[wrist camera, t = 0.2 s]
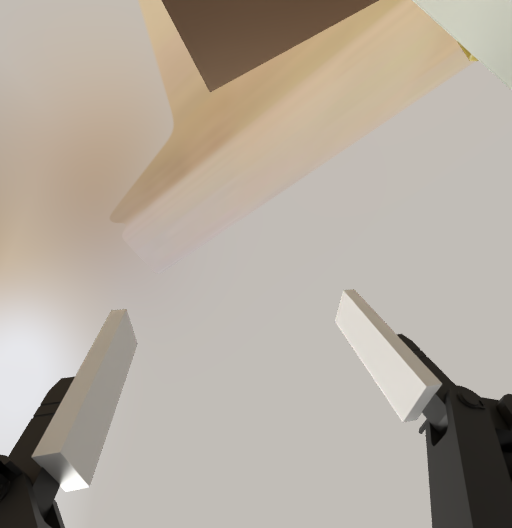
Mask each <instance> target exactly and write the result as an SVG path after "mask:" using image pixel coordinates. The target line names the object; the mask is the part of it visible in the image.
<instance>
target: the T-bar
mask: <svg viewBox="0 0 512 528" xmlns="http://www.w3.org/2000/svg"><path fill="white" fill-rule="evenodd" d="M377 1H378V0H162V2H163V4H164V6H165V8H166V9H167V11H168V13H169V15H170V17H171V19H172V21H173V23H174V25H175V27H176V28H177V30H178V32H179V34H180V36H181V38H182V40H183V42H184V44H185V46H186V48H187V49H188V51H189V53H190V55H191V57H192V59H193V61H194V63H195V65H196V67H197V68H198V70H199V72H200V74H201V76H202V78H203V80H204V82H205V84H206V86H207V87H208V89H209V91H210V92H212V91H213V90H215V89H217V88H219V87H221V86H223V85H224V84H226V83H228V82H230V81H232V80H234V79H235V78H237V77H239V76H241V75H243V74H245V73H246V72H248V71H250V70H252V69H254V68H256V67H257V66H259V65H261V64H263V63H265V62H267V61H268V60H270V59H272V58H274V57H276V56H278V55H279V54H281V53H283V52H285V51H287V50H289V49H290V48H292V47H294V46H296V45H298V44H300V43H301V42H303V41H305V40H307V39H309V38H311V37H312V36H314V35H316V34H318V33H320V32H322V31H323V30H325V29H327V28H329V27H331V26H333V25H334V24H336V23H338V22H340V21H342V20H344V19H345V18H347V17H349V16H351V15H353V14H355V13H356V12H358V11H360V10H362V9H364V8H366V7H367V6H369V5H371V4H373V3H375V2H377Z"/></svg>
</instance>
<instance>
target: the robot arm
mask: <svg viewBox="0 0 512 528" xmlns="http://www.w3.org/2000/svg"><path fill="white" fill-rule="evenodd" d="M335 322H336V324H337V326H338V327H339V329H340V330H341V331H342V333H343V334H344V336H345V337H346V339H347V340H348V342H349V343H350V345H351V346H352V348H353V349H354V351H355V352H356V354H357V355H358V357H359V358H360V360H361V361H362V362H363V364H364V365H365V367H366V369H367V370H368V371H369V373H370V374H371V376H372V377H373V379H374V381H375V382H376V384H377V385H378V386H379V388H380V389H381V391H382V392H383V394H384V395H385V397H386V398H387V400H388V401H389V403H390V404H391V406H392V407H393V409H394V410H395V412H396V413H397V415H398V416H399V418H400V419H401V421H402V422H407V421H413V420H417V419H418V417H419V416H420V415H421V413H423V414H424V415H425V416H426V418H427V420H426V421H425V422H424V423H423V425H422V426H421V427H420V429H419V433H420V434H422V433H423V431H424V430H425V429H426V443H427V456H428V471H429V485H430V499H431V513H432V528H512V394H507V395H504V396H503V397H502V398H501V399H500V400H494V399H487V398H481V397H480V396H478V395H477V394H476V393H474V392H473V391H471V390H469V389H467V388H465V387H462V386H456V385H455V384H454V383H453V382H452V381H451V380H450V379H449V378H448V377H447V376H446V375H445V374H444V373H443V372H442V371H441V370H440V369H439V368H438V367H437V366H436V365H435V364H434V363H433V362H432V361H431V360H430V359H429V358H427V357H426V355H425V354H424V353H423V352H422V351H420V349H419V348H418V347H417V346H416V344H415V343H413V341H411V340H410V339H408V338H407V337H405V336H404V335H402V334H398V335H396V334H395V333H394V331H393V330H392V329H391V328H390V327H389V326H388V325H387V324H386V323H385V322H384V321H383V320H382V319H381V318H380V317H379V316H378V314H377V313H376V312H375V311H374V310H373V309H372V308H371V307H370V306H369V305H368V304H367V303H366V302H365V300H364V299H363V298H362V297H361V296H359V294H358V293H357V292H356V291H355V290H354V289H353V290H344V291H343V294H342V298H341V301H340V305H339V309H338V313H337V316H336V320H335ZM136 347H137V341H136V338H135V335H134V331H133V328H132V325H131V322H130V319H129V316H128V313H127V310H126V309H122V310H112V311H111V312H110V314H109V316H108V317H107V319H106V321H105V323H104V325H103V327H102V328H101V330H100V332H99V334H98V336H97V338H96V339H95V342H94V343H93V345H92V347H91V349H90V350H89V352H88V354H87V356H86V358H85V360H84V362H83V363H82V365H81V367H80V369H79V371H78V372H77V374H76V376H75V377H70V378H62V379H61V380H59V381H58V383H57V384H55V385H54V386H53V387H52V388H51V389H50V390H49V392H48V393H47V395H46V396H45V398H44V400H43V401H42V403H41V406H40V407H39V408H38V409H37V411H36V413H35V414H34V417H33V419H31V421H30V422H29V424H28V426H27V427H26V429H25V430H24V432H23V434H22V435H21V437H20V439H19V440H18V442H17V443H16V445H15V447H14V448H13V450H12V451H11V453H10V455H9V457H7V456H5V455H0V528H65V527H64V524H63V521H62V518H61V515H60V512H59V509H58V506H57V503H56V501H55V500H54V498H55V496H56V494H57V491H58V489H59V486H60V487H61V488H63V490H64V491H65V492H68V491H72V490H77V489H82V488H87V487H90V484H91V481H92V478H93V475H94V472H95V469H96V466H97V463H98V460H99V457H100V454H101V451H102V448H103V445H104V442H105V439H106V436H107V433H108V430H109V427H110V424H111V421H112V418H113V415H114V412H115V409H116V406H117V403H118V400H119V397H120V394H121V391H122V388H123V385H124V382H125V379H126V376H127V374H128V371H129V367H130V364H131V361H132V359H133V356H134V353H135V350H136Z"/></svg>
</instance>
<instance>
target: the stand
mask: <svg viewBox="0 0 512 528" xmlns="http://www.w3.org/2000/svg"><path fill="white" fill-rule="evenodd" d="M412 1H413V2H415V3H416V4H417V5H418V6H419V7H420V8H421V9H422V10H423V11H425V12H426V13H427V14H428V15H429V16H430V17H431V18H432V19H433V20H434V21H436V22H437V23H438V24H439V25H440V26H441V27H442V28H443V29H444V30H446V31H447V32H448V33H449V34H450V35H451V36H452V37H453V38H454V39H455V40H457V41H458V42H459V43H460V44H461V45H462V46H463V47H464V48H465V49H466V50H468V51H469V52H470V53H471V54H472V55H473V56H474V57H475V58H476V59H478V60H479V61H480V62H481V63H482V64H483V65H484V66H485V67H486V68H487V69H489V70H490V71H491V72H492V73H493V74H494V75H495V76H496V77H497V78H499V79H500V80H501V81H502V82H503V83H504V84H505V85H506V86H508V87H509V88H510V89H511V90H512V0H412Z"/></svg>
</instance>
